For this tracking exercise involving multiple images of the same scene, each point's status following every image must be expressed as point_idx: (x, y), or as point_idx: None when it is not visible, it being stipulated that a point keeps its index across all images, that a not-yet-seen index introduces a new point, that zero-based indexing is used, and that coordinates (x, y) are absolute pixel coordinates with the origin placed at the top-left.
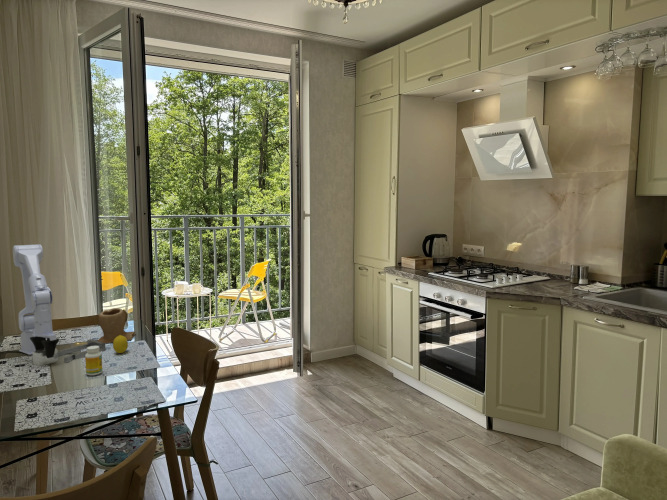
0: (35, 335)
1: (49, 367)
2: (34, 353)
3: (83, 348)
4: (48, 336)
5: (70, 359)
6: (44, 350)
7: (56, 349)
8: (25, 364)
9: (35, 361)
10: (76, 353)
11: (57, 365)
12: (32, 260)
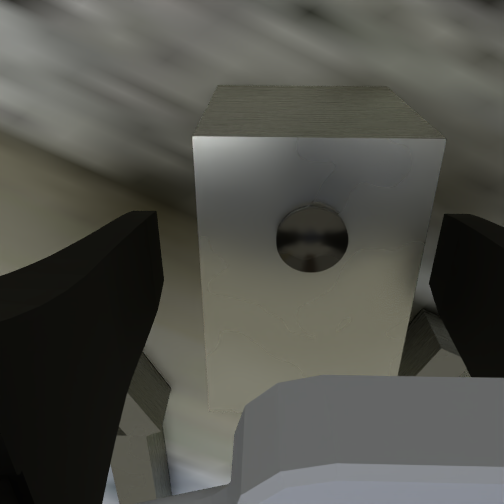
0: (229, 493)
1: (48, 137)
2: (351, 129)
3: None
4: None
5: None
6: (291, 285)
7: (211, 397)
8: (470, 2)
9: (316, 95)
10: (142, 457)
11: (60, 224)
12: None
